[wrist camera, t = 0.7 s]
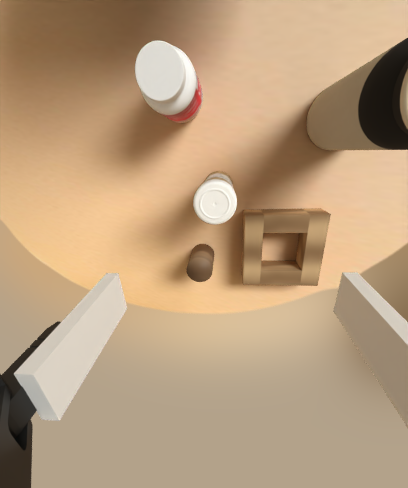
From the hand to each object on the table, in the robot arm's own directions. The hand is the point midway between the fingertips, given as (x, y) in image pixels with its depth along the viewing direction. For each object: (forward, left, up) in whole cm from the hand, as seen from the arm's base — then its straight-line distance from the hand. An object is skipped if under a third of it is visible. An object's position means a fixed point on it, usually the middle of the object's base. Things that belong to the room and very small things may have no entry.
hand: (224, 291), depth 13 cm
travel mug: (-11, +15, -25) cm, 31 cm away
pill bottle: (-15, -6, -25) cm, 29 cm away
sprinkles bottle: (-3, -1, -25) cm, 25 cm away
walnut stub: (+9, -4, -24) cm, 26 cm away
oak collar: (+7, +9, -24) cm, 27 cm away
